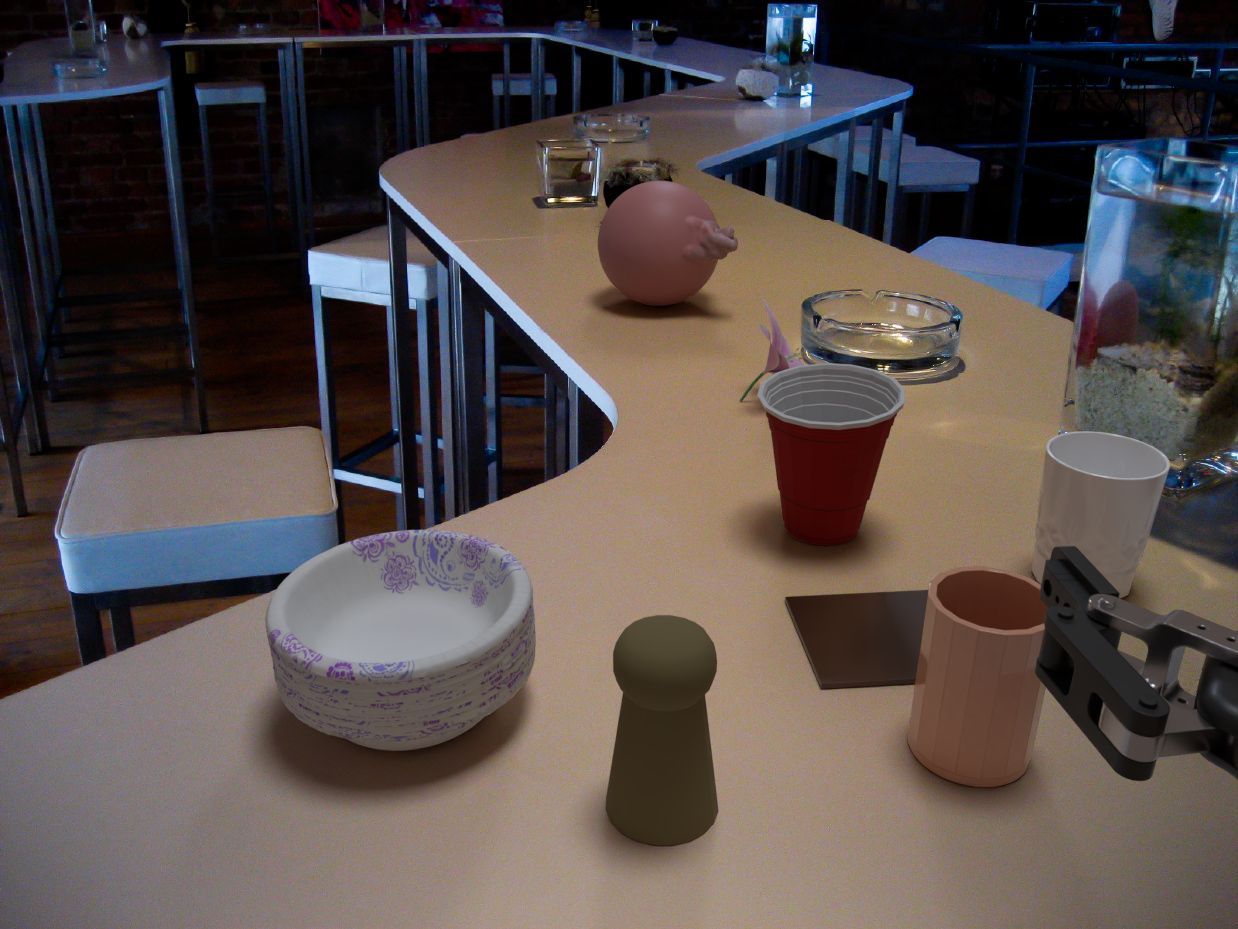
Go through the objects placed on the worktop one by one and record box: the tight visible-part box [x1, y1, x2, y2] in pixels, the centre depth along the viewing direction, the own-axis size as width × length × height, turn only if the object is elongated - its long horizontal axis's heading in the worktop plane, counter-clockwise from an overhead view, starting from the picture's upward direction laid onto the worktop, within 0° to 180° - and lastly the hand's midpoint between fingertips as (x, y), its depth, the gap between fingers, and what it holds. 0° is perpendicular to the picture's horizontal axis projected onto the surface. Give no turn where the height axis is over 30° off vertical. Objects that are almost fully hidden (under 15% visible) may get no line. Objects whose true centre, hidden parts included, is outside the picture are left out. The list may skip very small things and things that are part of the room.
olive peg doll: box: [605, 614, 719, 846], centre depth 56 cm, size 6×6×11 cm
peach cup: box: [907, 565, 1048, 788], centre depth 60 cm, size 7×7×10 cm
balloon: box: [597, 180, 739, 307], centre depth 135 cm, size 15×20×15 cm
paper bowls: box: [264, 529, 537, 752], centre depth 64 cm, size 15×15×8 cm
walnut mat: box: [784, 589, 928, 690], centre depth 72 cm, size 14×10×1 cm
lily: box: [739, 295, 807, 402], centre depth 108 cm, size 12×12×10 cm
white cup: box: [1031, 430, 1171, 599], centre depth 76 cm, size 8×8×10 cm
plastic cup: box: [756, 362, 907, 547], centre depth 83 cm, size 11×11×12 cm
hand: (1163, 562), depth 42 cm, fingers open, 8 cm apart
